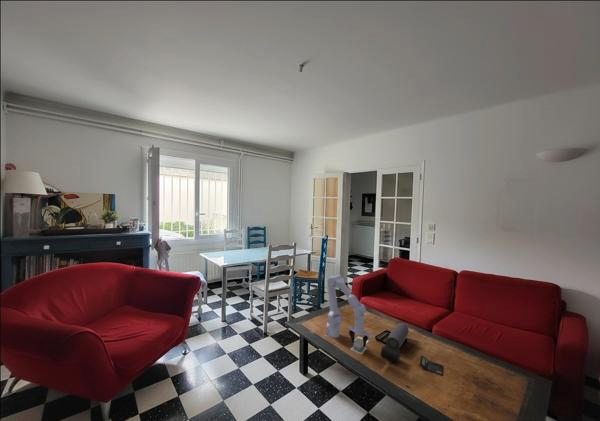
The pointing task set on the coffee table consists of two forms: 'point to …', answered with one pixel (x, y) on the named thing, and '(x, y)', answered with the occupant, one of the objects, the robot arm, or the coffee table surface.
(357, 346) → the block
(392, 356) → the end cap
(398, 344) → the bluetooth speaker
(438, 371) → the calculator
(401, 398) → the coffee table surface
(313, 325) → the coffee table surface
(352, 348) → the stand
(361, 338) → the stand
